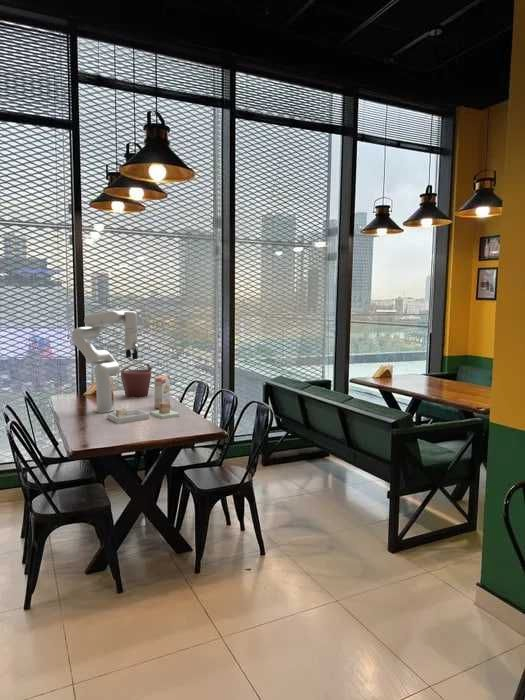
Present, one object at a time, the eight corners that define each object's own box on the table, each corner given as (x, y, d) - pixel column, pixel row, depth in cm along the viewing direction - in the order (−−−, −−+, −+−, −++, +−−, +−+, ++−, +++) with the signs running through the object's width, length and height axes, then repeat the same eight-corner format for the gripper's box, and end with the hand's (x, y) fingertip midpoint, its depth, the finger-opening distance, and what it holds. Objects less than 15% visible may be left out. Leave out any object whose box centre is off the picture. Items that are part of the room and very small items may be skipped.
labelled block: (159, 412, 315) (158, 402, 314) (166, 411, 318) (166, 401, 318) (162, 413, 311) (162, 404, 310) (170, 412, 314) (169, 403, 314)
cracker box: (162, 409, 333) (162, 378, 331) (154, 408, 334) (153, 377, 332) (170, 404, 346) (170, 375, 344) (162, 404, 348) (162, 374, 345)
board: (150, 414, 317) (150, 411, 317) (167, 411, 325) (167, 408, 324) (162, 419, 305) (162, 416, 305) (179, 416, 312) (179, 413, 312)
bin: (107, 419, 305) (107, 413, 305) (138, 414, 317) (138, 409, 317) (118, 424, 293) (118, 418, 292) (149, 419, 305) (149, 413, 305)
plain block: (115, 419, 302) (115, 409, 302) (123, 418, 306) (123, 408, 305) (119, 420, 299) (119, 411, 298) (127, 419, 302) (126, 409, 301)
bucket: (151, 392, 393) (150, 360, 390) (156, 397, 373) (156, 364, 370) (119, 394, 383) (118, 362, 380) (123, 399, 363) (122, 365, 360)
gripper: (119, 330, 315) (120, 357, 317) (131, 332, 302) (131, 360, 303) (130, 330, 320) (131, 356, 322) (142, 331, 306) (143, 359, 308)
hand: (131, 358), depth 312 cm, fingers open, 9 cm apart
